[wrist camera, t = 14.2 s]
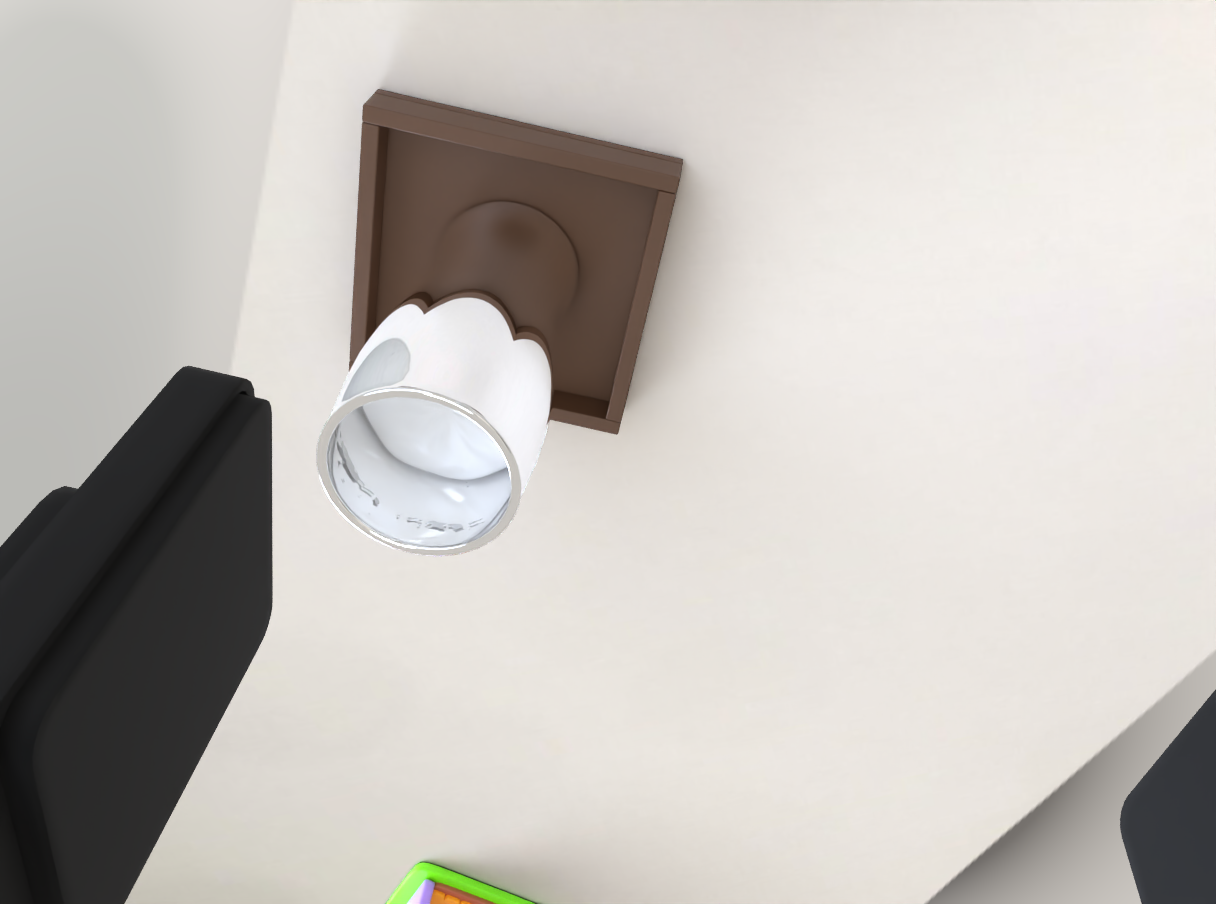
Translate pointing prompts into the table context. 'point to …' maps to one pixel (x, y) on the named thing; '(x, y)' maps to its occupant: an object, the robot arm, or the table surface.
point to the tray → (534, 176)
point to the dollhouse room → (447, 889)
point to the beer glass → (454, 389)
